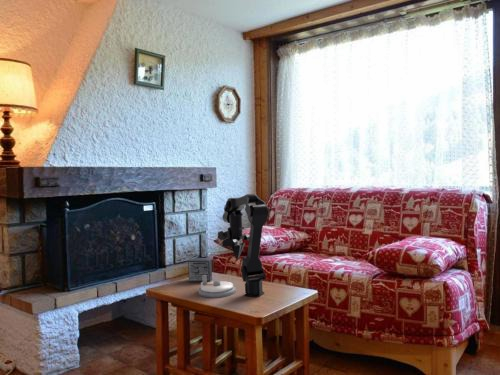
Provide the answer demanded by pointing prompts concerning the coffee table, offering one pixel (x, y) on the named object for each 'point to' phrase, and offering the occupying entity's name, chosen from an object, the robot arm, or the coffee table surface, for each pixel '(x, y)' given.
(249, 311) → the coffee table surface
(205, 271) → the small box
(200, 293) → the base plate
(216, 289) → the dial
